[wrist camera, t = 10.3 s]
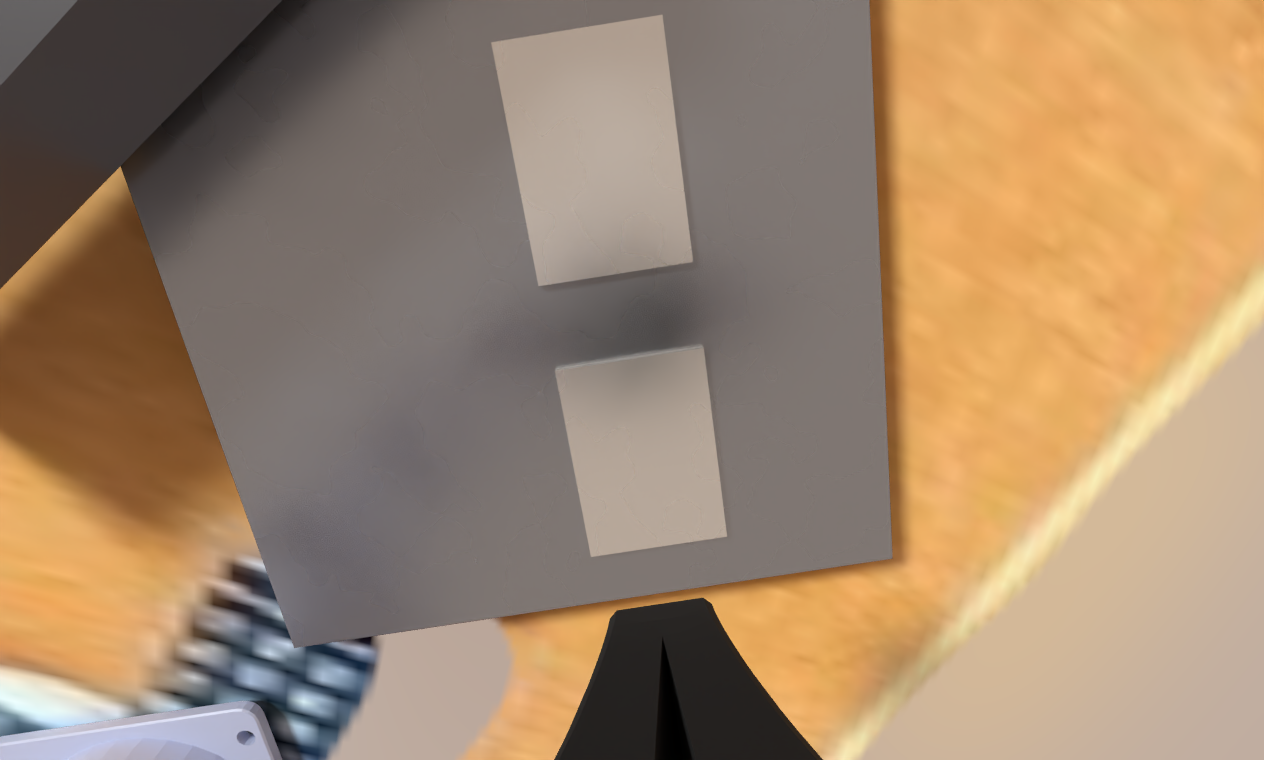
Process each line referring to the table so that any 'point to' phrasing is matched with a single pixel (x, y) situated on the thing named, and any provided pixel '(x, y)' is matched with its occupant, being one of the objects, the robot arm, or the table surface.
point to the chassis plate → (532, 299)
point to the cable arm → (94, 96)
